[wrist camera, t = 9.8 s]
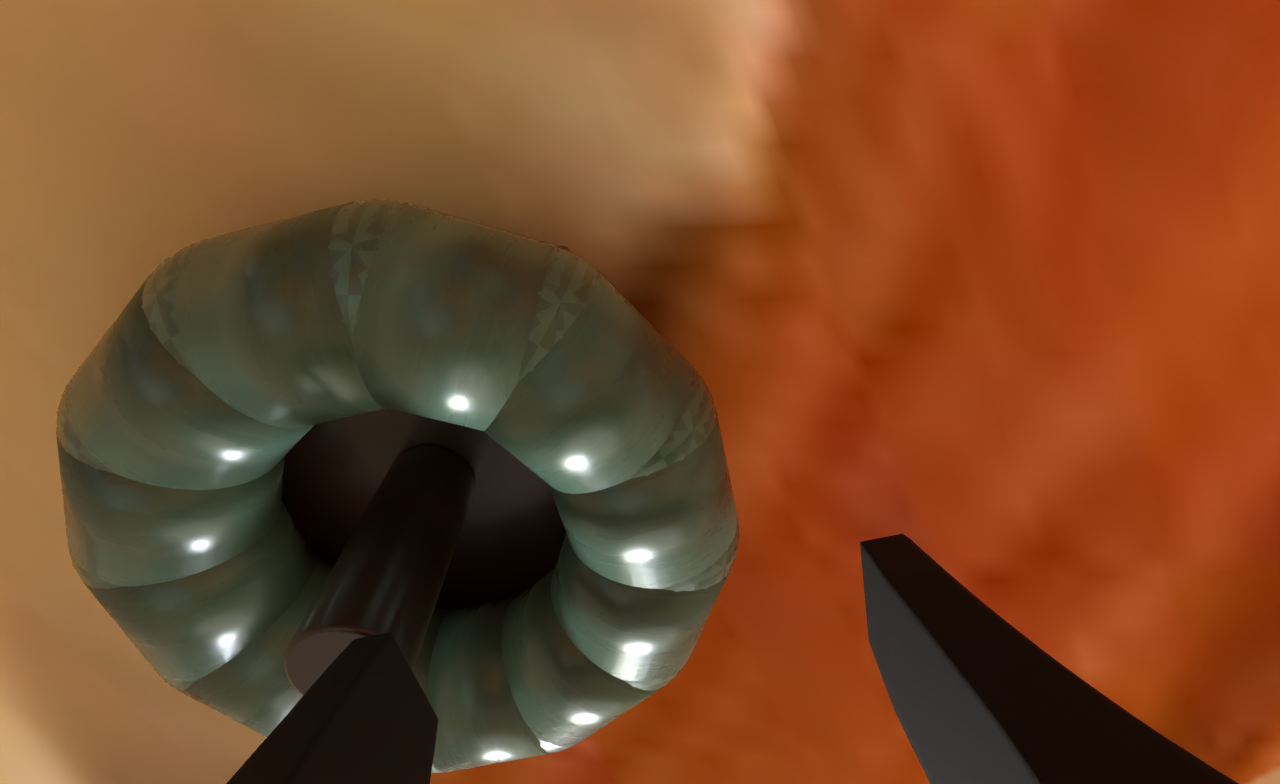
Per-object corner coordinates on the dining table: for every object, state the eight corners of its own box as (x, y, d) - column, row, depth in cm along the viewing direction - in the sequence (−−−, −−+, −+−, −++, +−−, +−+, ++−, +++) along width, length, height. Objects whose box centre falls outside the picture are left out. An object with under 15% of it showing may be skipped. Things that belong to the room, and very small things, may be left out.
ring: (308, 710, 19) (244, 842, 16) (11, 280, 13) (-189, 350, 10) (757, 624, 18) (787, 747, 15) (652, 117, 12) (664, 135, 9)
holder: (348, 618, 19) (226, 868, 13) (183, 333, 15) (-103, 507, 9) (655, 559, 18) (672, 794, 12) (568, 244, 14) (532, 368, 8)
